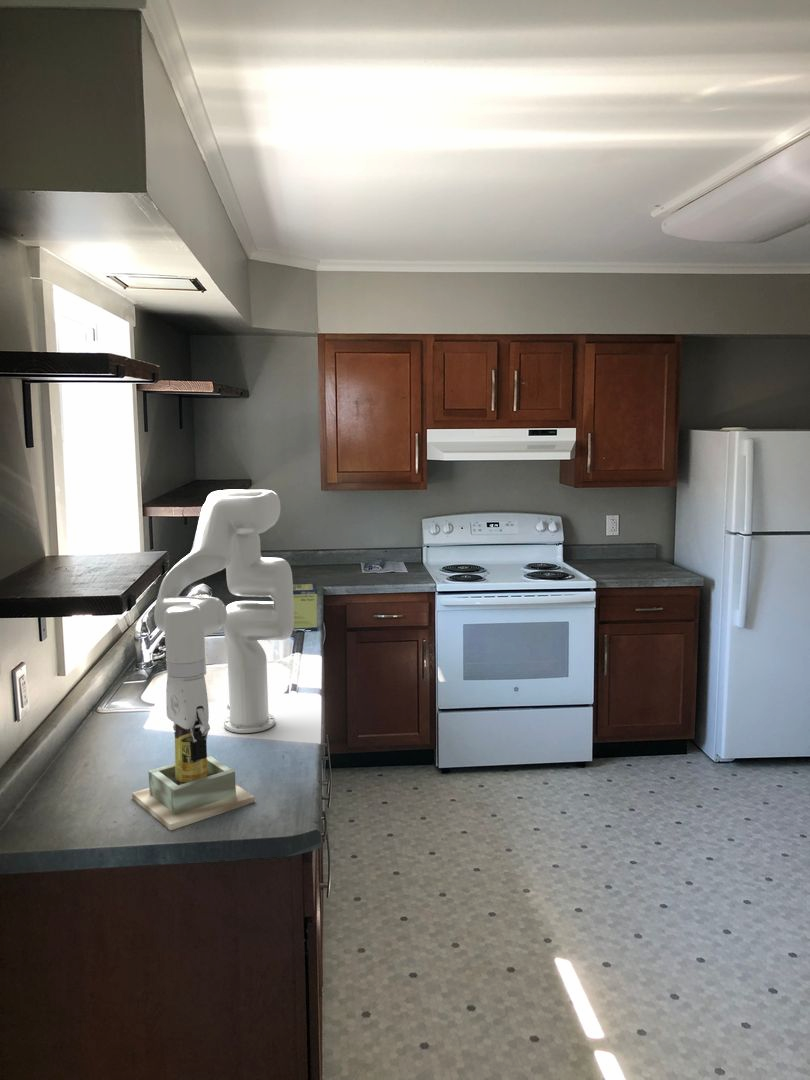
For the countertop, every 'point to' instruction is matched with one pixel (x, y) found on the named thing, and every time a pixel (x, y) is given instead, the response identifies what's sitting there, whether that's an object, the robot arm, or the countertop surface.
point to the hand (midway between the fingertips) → (191, 753)
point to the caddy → (191, 795)
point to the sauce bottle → (187, 758)
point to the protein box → (305, 607)
